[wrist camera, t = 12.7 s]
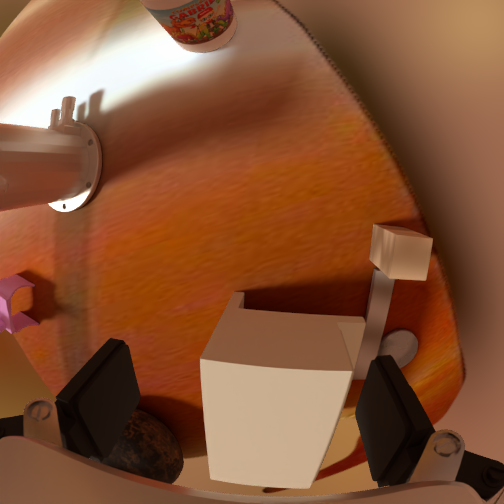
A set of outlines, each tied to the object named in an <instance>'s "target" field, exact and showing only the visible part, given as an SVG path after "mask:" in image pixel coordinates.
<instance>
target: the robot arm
mask: <svg viewBox="0 0 504 504" xmlns="http://www.w3.org/2000/svg"><path fill="white" fill-rule="evenodd" d="M75 101H76V98H75V97H71V96H69V97H64V98H63V101H62V107H61V111H62V112H61V119H60V120H59V118H60V109H54V110H52V113H51V123H50V126H49V127H48V129H45V128H38V127H30V126H22V125H13V124H3V123H0V212H1V211H6V210H12V209H17V208H23V207H29V206H35V205H41V204H49V205H50V206H51V207H52V208H53V209H55V210H57V211H60V212H71V211H75V210H77V209H79V208H81V207H82V206H84V205H85V204H86V203H87V202H88V201H89V199H90V198H91V197H92V195H93V193H94V192H95V190H96V187H97V185H98V182H99V179H100V174H101V168H102V151H101V145H100V142H99V139H98V137H97V135H96V134H95V132H94V131H93V130H92V129H91V128H90V127H89V126H87V125H86V124H83V123H80V122H75V120H74V119H72V117H73V111H74V108H75ZM56 399H57V400H56V402H55V403H53V401H52V400H50V399H47V398H37V399H34V400H32V401H30V402H29V403H28V404H27V405H26V406H25V408H24V412H23V415H19V416H14V417H8V418H1V419H0V504H504V464H503V463H500V462H499V461H496V460H493V459H489V458H486V457H483V456H480V455H477V454H474V453H471V452H468V451H466V450H465V443H464V440H463V438H462V437H461V436H460V435H459V434H458V433H456V432H454V431H452V430H447V429H445V430H439V431H435V429H434V428H433V426H432V424H431V422H430V420H429V418H428V416H427V414H426V412H425V411H424V409H423V407H422V405H421V403H420V401H419V400H418V398H417V396H416V394H415V392H414V391H413V389H412V388H411V386H409V384H408V382H407V381H406V379H405V377H404V375H403V374H402V372H401V370H400V368H399V367H398V365H397V363H396V362H395V360H394V358H393V357H392V355H380V356H376V358H375V360H371V362H370V365H369V369H368V372H367V376H366V379H365V382H364V386H363V389H362V392H361V395H360V398H359V401H358V404H357V407H356V411H355V416H356V420H357V423H358V427H359V430H360V434H361V438H362V441H363V445H364V449H365V452H366V456H367V460H368V464H369V468H370V472H371V476H372V479H373V481H377V483H378V487H383V488H377V489H372V490H365V491H358V492H350V493H341V494H331V495H319V496H300V497H273V496H272V497H271V496H250V495H237V494H227V493H219V492H212V491H205V490H199V489H193V488H187V487H182V486H177V485H172V484H168V483H164V482H160V481H156V480H152V479H148V478H145V477H141V476H138V475H134V474H131V473H128V472H125V471H122V470H119V469H116V468H113V467H110V466H107V465H104V464H102V461H103V460H104V458H107V457H109V455H110V453H111V451H112V450H113V448H114V446H115V444H116V442H117V441H118V439H119V437H120V435H121V433H122V432H123V430H124V428H125V426H126V424H127V423H128V421H129V419H130V417H131V416H132V414H133V412H134V410H135V409H136V407H137V405H138V403H139V401H140V391H139V387H138V383H137V380H136V376H135V372H134V367H133V363H132V359H131V354H130V350H129V346H128V345H126V344H125V342H124V341H123V340H118V339H113V338H110V339H109V340H108V341H107V342H106V343H105V344H104V345H103V346H102V347H101V348H100V349H99V350H98V351H97V352H96V353H95V354H94V355H93V357H92V358H91V359H90V360H89V361H88V362H87V363H86V364H85V365H84V366H83V367H82V368H81V370H80V371H79V372H78V373H77V374H76V375H75V376H74V377H73V378H72V379H71V380H70V382H69V383H68V384H67V385H66V386H65V387H64V388H63V389H62V391H61V392H60V393H59V394H58V395H57V396H56ZM89 458H90V459H89ZM91 459H92V460H91ZM96 461H97V462H96ZM384 486H389V487H384Z"/></svg>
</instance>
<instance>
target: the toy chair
mask: <svg viewBox="0 0 504 504" xmlns="http://www.w3.org/2000/svg"><path fill="white" fill-rule="evenodd" d="M25 286H33V287H35V285H34V284H33V283H31V282H29V281H27V280H26V279H24V278H22V277H20V276H18V275H17V274H15V275H12V276H10V277H7V278H4V279H1V280H0V333H1V332H2V331H3V330H4V329H7V331H9V332H10V333H11V334H13V333H14V332H16V333H17V332H19V331H20V330H21V329H22V328H24V327H27V326H33V325H39V323H38V322H36V321H34V320H33V319H31V318H30V317H28V316H27V315H25V314H23V313H22V312H18V313H17V314H15V315H13V316H12V314H11V297H12V296H13V294H14V292H15V291H16V290H17V289H18V288H20V287H25Z"/></svg>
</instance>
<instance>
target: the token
mask: <svg viewBox="0 0 504 504" xmlns="http://www.w3.org/2000/svg"><path fill="white" fill-rule="evenodd" d="M417 349H418V341H417V338H416V337H415V335H414V334H413V333H412V332H411V331H410V330H408V329H404V328H399V329H395V330H392V331H390V332H388V333H387V334H385V335H384V336H383V337H382V338H381V342H380V346H379V349H378V353H377V356H380V355H392V357H393V358H394V360H395V362H396V363H397V365H398V367H399V368H402V367H404V366H405V365H407V364H408V363H409V362H410V361H411V360H412V359H413V358H414V356H415V354H416V352H417Z"/></svg>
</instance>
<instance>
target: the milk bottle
mask: <svg viewBox="0 0 504 504" xmlns="http://www.w3.org/2000/svg"><path fill="white" fill-rule="evenodd" d="M140 1H141V3H142V4H143V5H144V6H145V7H146V9H147V10H148V11H149V12H150V13H151V14H152V15H153V16H154V18H155V19H156V20H157V21H158V22H159V23H160V24H161V25H162V27H163V28H164V29H165V30H166V31H167V32H168V33H169V34H170V36H171V37H172V38H173V39H174V40H175V41H176V42H177V43H178V44H179V45H180V46H181V47H182V48H183V49H185V50H187V51H190V52H196V53H203V52H209V51H213V50H215V49H218V48H220V47H221V46H223V45H224V44H226V43H227V42H228V41H229V40H230V39H231V38H232V36H233V34H234V33H235V30H236V27H237V21H236V17H235V14H234V11H233V8H232V5H231V3H230V0H140Z"/></svg>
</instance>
